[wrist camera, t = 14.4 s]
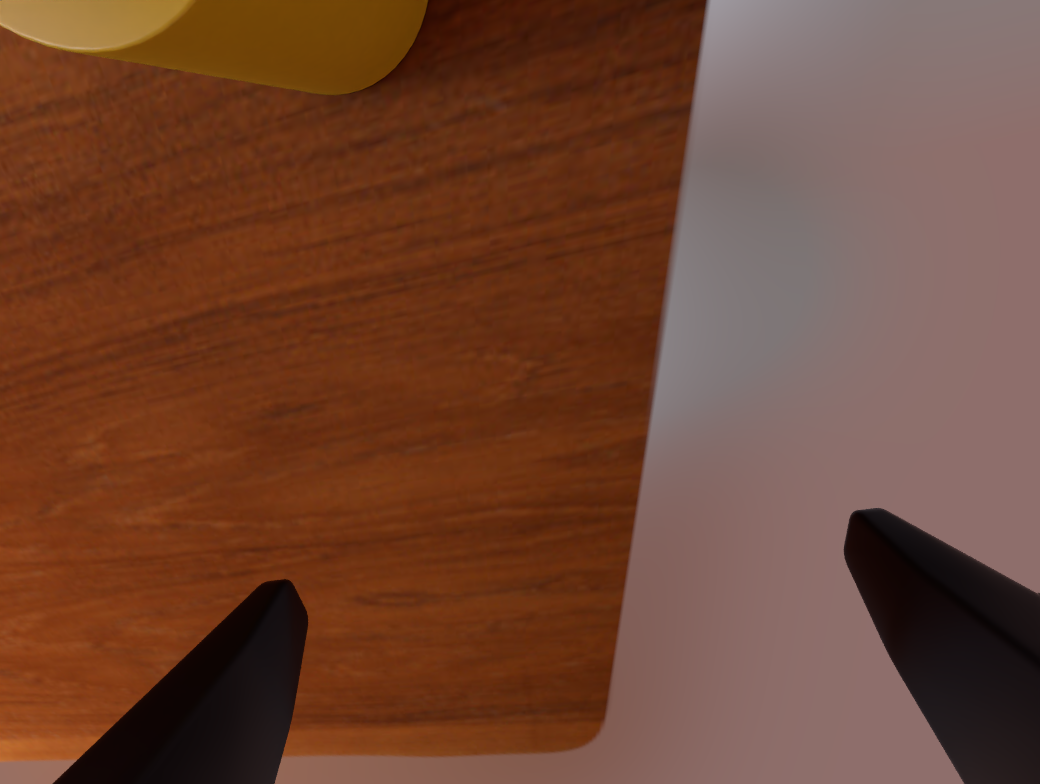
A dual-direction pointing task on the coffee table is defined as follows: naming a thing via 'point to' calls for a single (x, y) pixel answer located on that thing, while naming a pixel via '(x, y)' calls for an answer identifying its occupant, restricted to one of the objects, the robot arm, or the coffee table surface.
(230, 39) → the pepper
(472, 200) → the coffee table surface
